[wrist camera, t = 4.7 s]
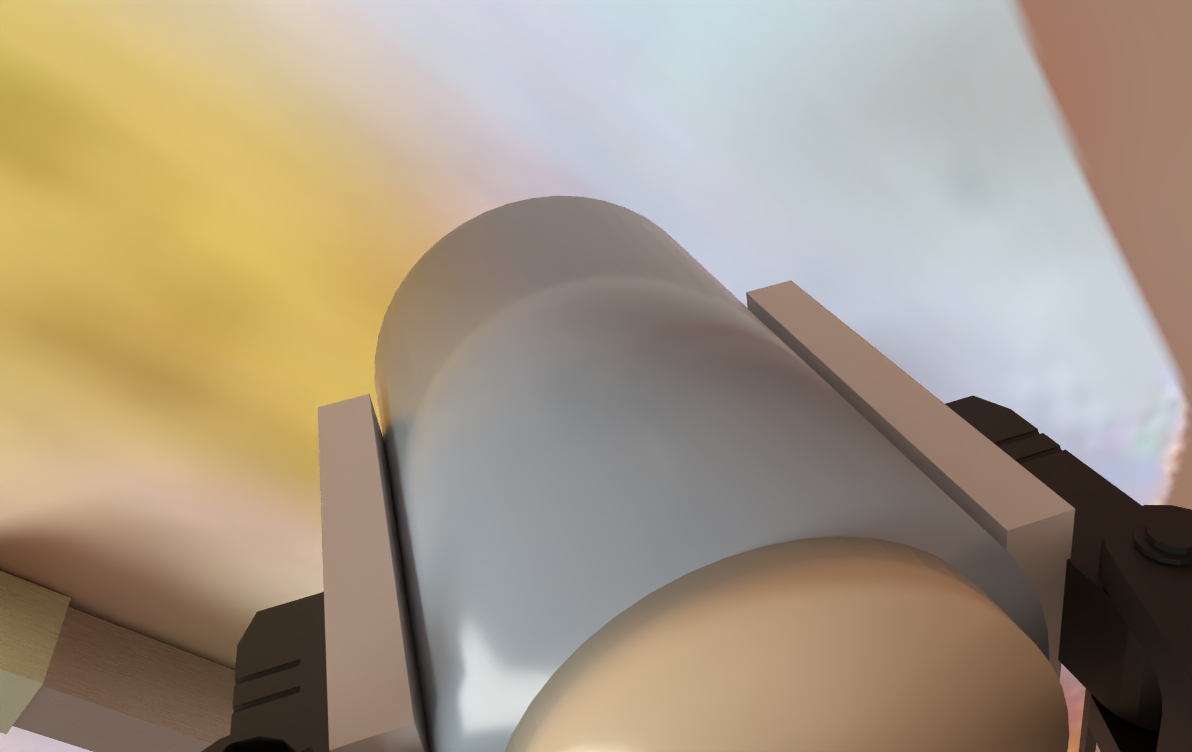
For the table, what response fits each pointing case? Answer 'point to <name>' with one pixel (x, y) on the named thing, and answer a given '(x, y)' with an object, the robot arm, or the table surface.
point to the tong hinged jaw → (103, 680)
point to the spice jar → (673, 520)
